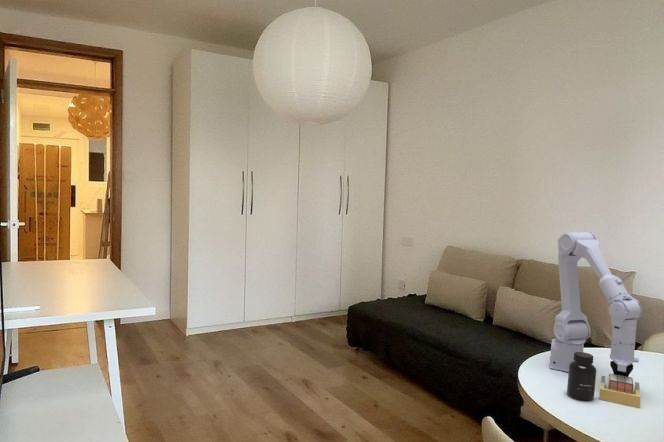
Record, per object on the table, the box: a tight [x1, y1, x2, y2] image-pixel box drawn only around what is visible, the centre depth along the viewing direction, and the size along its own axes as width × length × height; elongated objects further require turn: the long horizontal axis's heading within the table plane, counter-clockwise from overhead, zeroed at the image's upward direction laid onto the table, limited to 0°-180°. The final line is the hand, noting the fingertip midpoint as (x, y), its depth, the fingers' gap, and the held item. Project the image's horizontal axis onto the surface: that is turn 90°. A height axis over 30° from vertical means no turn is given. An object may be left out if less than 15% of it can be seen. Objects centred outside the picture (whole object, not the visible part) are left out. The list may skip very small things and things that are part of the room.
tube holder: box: [598, 375, 641, 409], centre depth 139 cm, size 10×13×3 cm
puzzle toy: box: [607, 373, 634, 394], centre depth 137 cm, size 6×6×6 cm
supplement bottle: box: [566, 351, 597, 402], centre depth 137 cm, size 7×7×12 cm
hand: (619, 388), depth 141 cm, fingers closed
